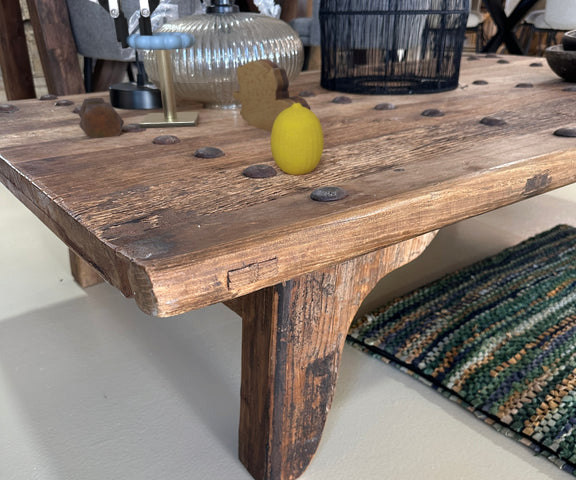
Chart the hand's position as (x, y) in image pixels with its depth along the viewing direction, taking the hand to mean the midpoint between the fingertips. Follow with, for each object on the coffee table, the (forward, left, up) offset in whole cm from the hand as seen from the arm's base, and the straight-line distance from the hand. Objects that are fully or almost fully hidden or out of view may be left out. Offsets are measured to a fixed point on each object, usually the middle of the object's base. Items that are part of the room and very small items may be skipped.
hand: (136, 46), depth 82 cm
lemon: (+21, -31, -11) cm, 39 cm away
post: (+4, 0, -11) cm, 12 cm away
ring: (+4, 0, +1) cm, 4 cm away
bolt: (-6, -4, -11) cm, 14 cm away
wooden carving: (+19, -9, -11) cm, 24 cm away
